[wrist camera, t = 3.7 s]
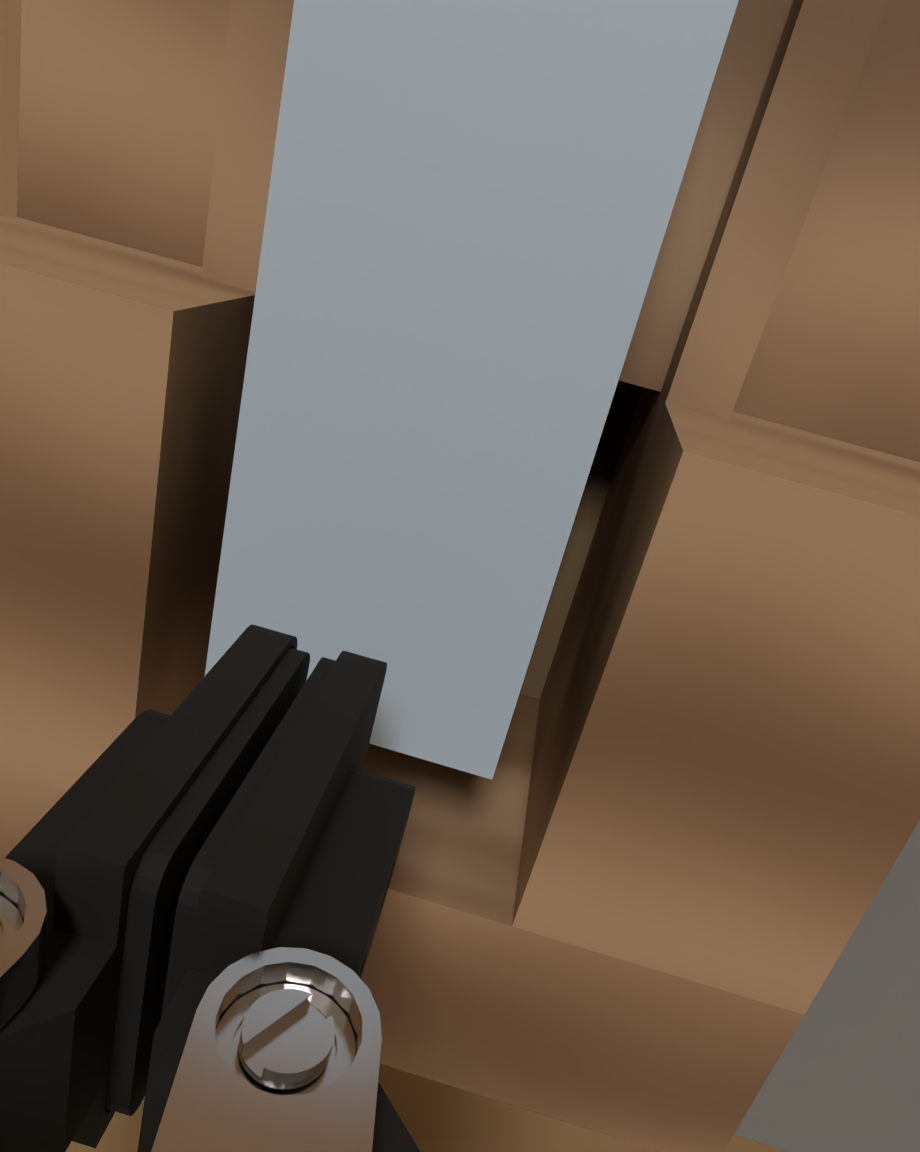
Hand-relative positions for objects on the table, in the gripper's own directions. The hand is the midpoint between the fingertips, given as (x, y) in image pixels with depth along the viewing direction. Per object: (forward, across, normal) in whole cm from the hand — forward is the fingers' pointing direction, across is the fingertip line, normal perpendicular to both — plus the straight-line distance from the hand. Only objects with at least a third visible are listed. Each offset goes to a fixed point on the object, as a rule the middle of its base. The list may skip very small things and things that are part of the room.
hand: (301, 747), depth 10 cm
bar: (+6, 0, -5) cm, 8 cm away
